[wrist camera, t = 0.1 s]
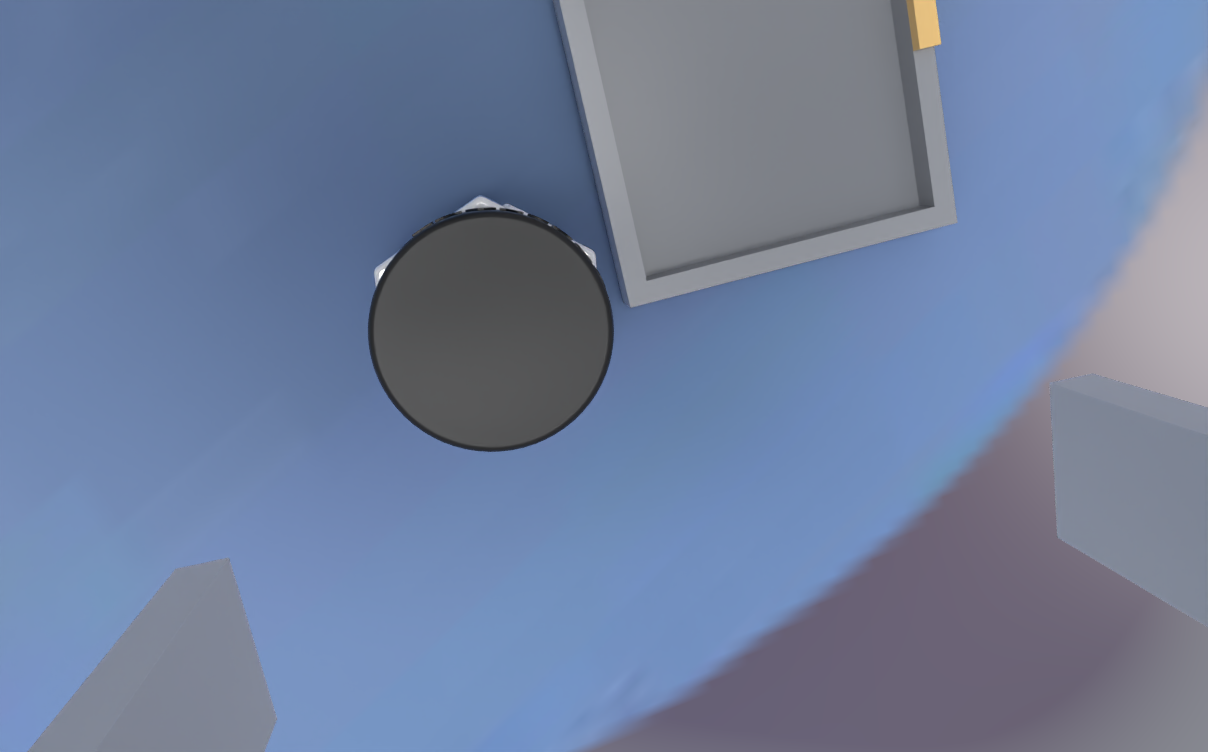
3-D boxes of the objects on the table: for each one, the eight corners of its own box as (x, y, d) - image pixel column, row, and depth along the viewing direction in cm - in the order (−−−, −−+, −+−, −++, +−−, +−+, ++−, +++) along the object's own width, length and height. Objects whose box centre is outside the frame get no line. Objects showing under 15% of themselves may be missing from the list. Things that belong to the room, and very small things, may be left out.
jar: (613, 254, 40) (668, 280, 28) (539, 407, 41) (563, 493, 29) (436, 167, 38) (416, 157, 26) (363, 330, 39) (314, 390, 28)
